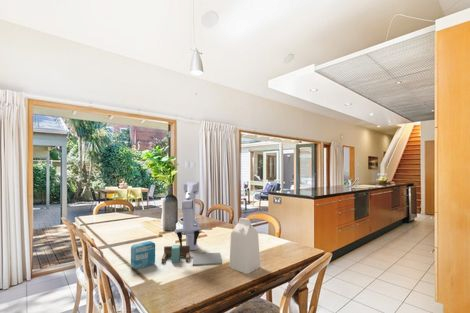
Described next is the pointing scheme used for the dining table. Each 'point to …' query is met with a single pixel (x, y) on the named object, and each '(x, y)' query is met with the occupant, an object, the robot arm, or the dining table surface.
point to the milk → (244, 247)
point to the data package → (142, 254)
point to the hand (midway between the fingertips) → (187, 245)
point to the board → (206, 259)
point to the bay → (183, 252)
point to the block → (175, 253)
